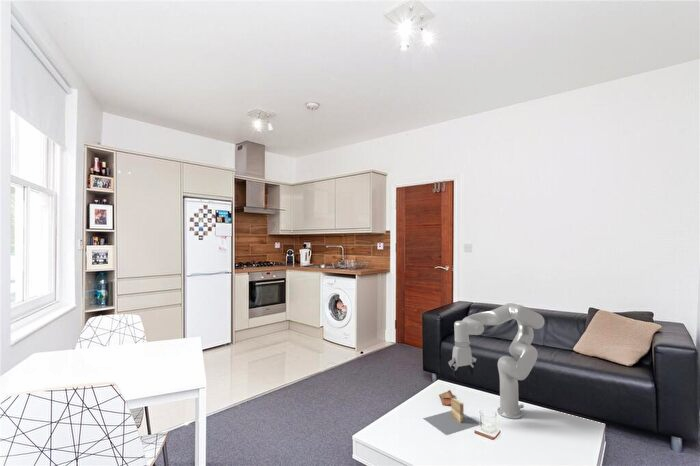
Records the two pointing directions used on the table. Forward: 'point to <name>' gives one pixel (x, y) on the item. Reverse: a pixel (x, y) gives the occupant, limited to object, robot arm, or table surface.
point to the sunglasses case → (446, 398)
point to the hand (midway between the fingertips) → (463, 375)
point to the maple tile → (457, 410)
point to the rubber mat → (450, 423)
